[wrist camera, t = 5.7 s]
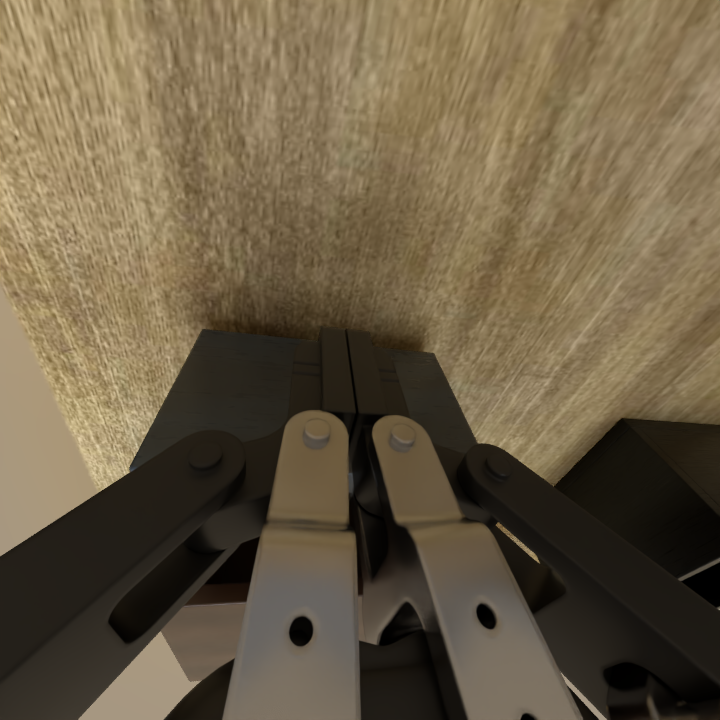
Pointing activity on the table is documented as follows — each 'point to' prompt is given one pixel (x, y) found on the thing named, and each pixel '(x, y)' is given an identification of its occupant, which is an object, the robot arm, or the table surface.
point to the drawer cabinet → (215, 627)
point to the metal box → (658, 495)
